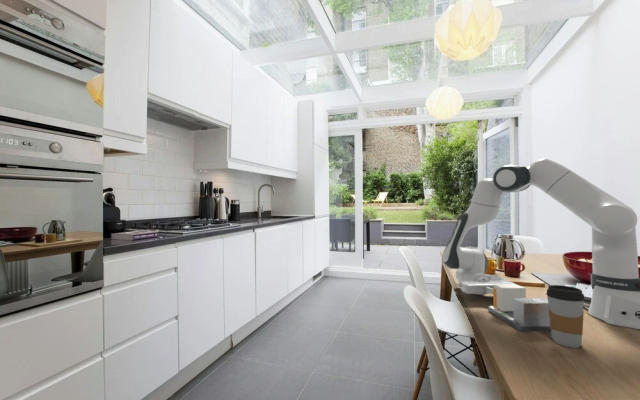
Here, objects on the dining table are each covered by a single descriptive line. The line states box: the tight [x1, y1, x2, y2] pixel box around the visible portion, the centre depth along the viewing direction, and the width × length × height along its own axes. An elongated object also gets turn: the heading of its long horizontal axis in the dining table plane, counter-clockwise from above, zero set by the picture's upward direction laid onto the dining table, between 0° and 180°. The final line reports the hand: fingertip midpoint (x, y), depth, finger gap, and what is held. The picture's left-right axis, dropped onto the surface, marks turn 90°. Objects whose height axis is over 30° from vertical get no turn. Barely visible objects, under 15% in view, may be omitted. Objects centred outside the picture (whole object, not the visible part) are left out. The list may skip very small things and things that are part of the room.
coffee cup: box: [546, 284, 586, 348], centre depth 83 cm, size 8×8×15 cm
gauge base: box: [487, 297, 551, 333], centre depth 100 cm, size 18×12×8 cm, turn 179°
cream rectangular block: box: [492, 283, 527, 311], centre depth 106 cm, size 6×10×8 cm, turn 89°
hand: (498, 292), depth 112 cm, fingers closed
